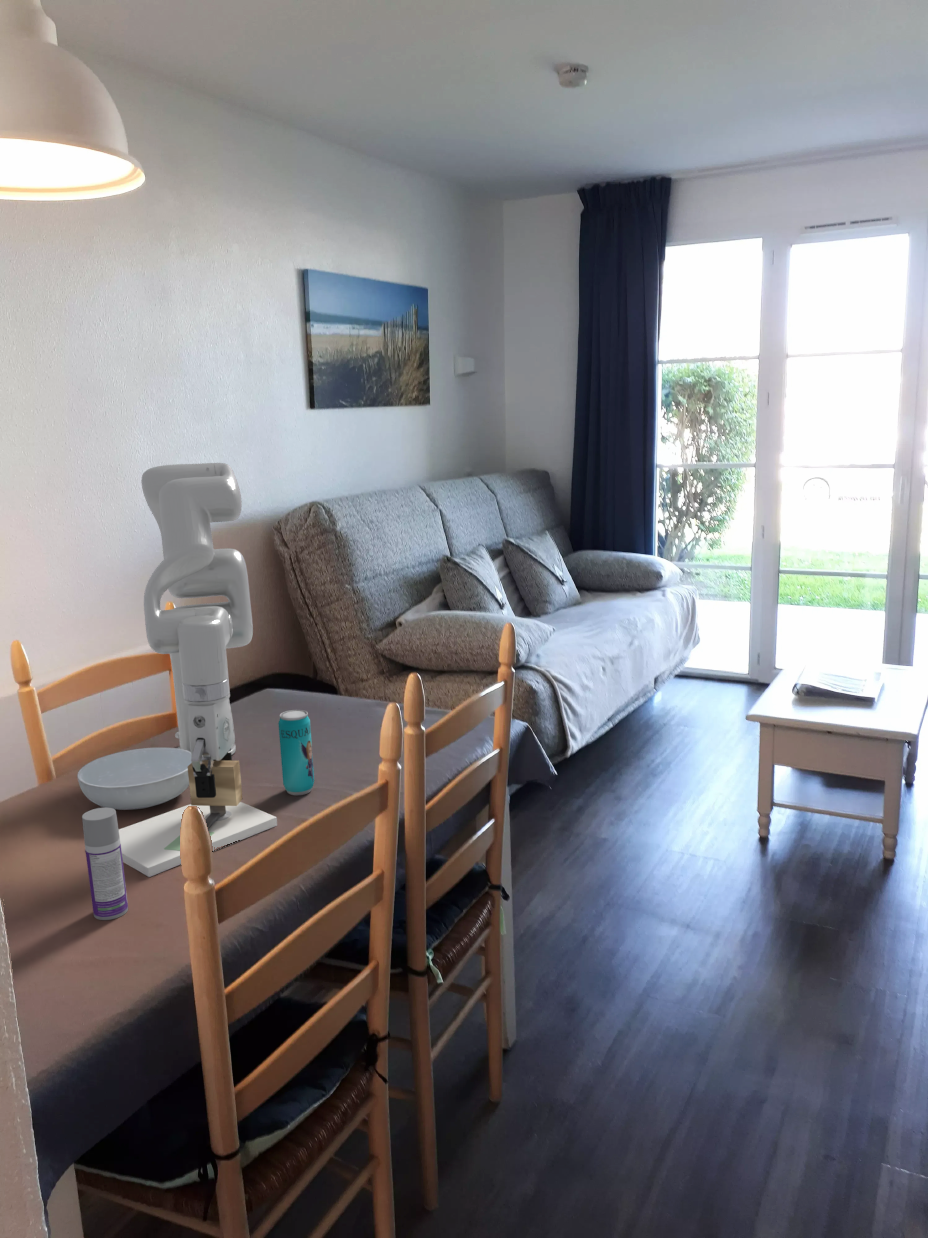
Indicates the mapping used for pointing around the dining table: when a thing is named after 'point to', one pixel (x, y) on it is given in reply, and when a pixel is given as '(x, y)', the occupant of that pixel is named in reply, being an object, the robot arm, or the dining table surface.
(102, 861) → the container
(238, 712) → the dining table surface
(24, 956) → the dining table surface
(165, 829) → the dial board
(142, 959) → the dining table surface
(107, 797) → the serving bowl
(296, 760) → the beverage can
